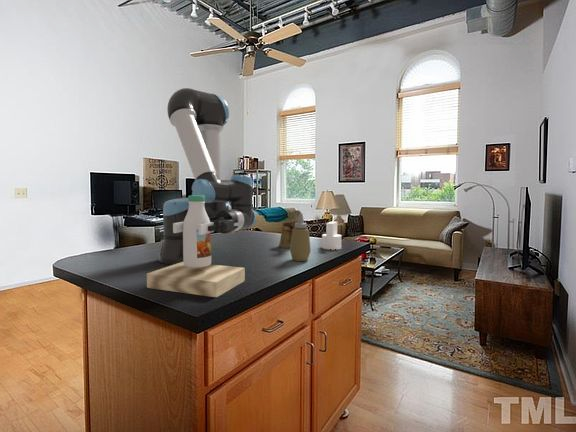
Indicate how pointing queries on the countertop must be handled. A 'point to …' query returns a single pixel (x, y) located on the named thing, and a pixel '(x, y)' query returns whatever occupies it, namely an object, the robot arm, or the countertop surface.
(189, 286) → the board
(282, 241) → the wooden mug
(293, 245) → the squeeze bottle
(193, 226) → the milk bottle
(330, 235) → the white tiered cake
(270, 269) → the countertop surface
